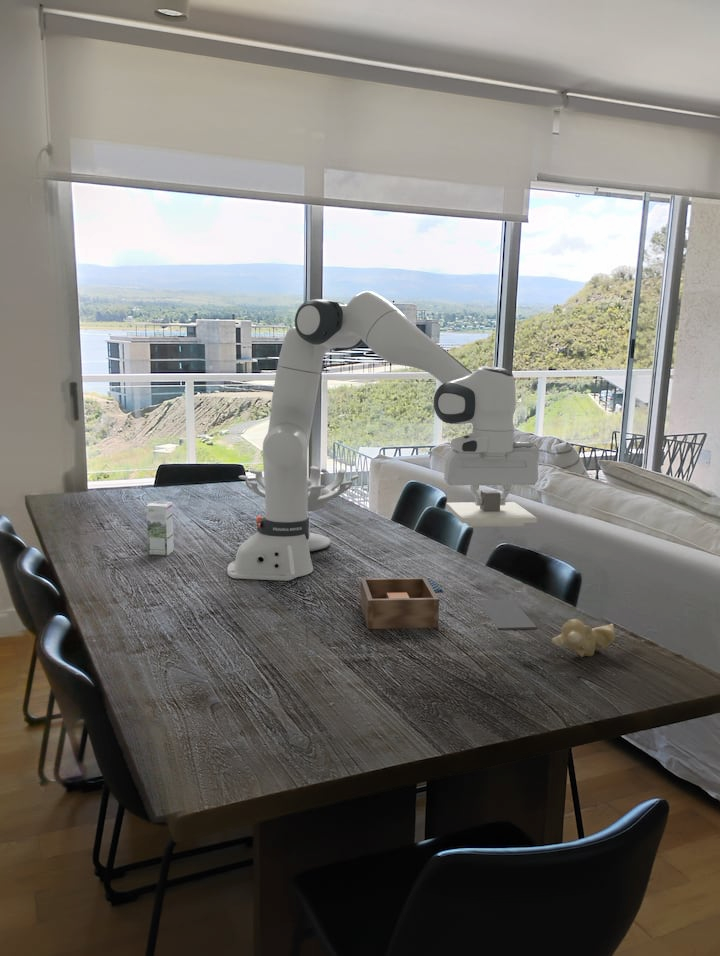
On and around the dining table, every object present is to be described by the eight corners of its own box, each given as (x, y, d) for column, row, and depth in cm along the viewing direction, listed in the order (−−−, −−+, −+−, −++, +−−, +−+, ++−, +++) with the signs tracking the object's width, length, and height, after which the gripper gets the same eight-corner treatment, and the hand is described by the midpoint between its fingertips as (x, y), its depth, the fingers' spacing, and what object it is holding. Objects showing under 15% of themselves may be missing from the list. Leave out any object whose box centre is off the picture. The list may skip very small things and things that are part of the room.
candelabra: (362, 533, 246) (363, 447, 241) (349, 564, 211) (351, 465, 207) (256, 528, 249) (255, 444, 244) (226, 559, 215) (225, 461, 210)
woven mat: (404, 600, 185) (404, 592, 184) (391, 586, 195) (391, 579, 194) (445, 597, 187) (446, 589, 187) (430, 584, 197) (430, 576, 197)
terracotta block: (388, 619, 169) (389, 599, 168) (386, 612, 173) (386, 592, 172) (409, 618, 169) (410, 599, 168) (406, 611, 173) (406, 592, 173)
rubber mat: (454, 630, 165) (454, 628, 165) (437, 602, 182) (437, 600, 182) (536, 628, 167) (536, 626, 167) (512, 600, 184) (512, 599, 184)
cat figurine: (620, 624, 153) (578, 616, 147) (619, 661, 152) (576, 655, 146) (587, 623, 160) (545, 615, 154) (586, 658, 159) (543, 653, 153)
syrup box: (174, 550, 222) (173, 501, 219) (167, 556, 216) (165, 505, 214) (154, 550, 222) (153, 500, 220) (147, 555, 217) (145, 504, 214)
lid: (462, 528, 162) (463, 499, 161) (445, 511, 178) (446, 485, 177) (536, 528, 164) (538, 499, 163) (514, 511, 179) (515, 484, 178)
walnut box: (367, 632, 163) (368, 600, 162) (360, 608, 178) (360, 578, 176) (438, 630, 165) (439, 599, 163) (425, 606, 179) (425, 577, 178)
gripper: (534, 440, 172) (531, 501, 174) (443, 440, 170) (441, 502, 172) (544, 444, 166) (540, 507, 168) (450, 444, 164) (447, 508, 166)
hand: (489, 505), depth 170 cm, fingers closed on lid, 3 cm apart
